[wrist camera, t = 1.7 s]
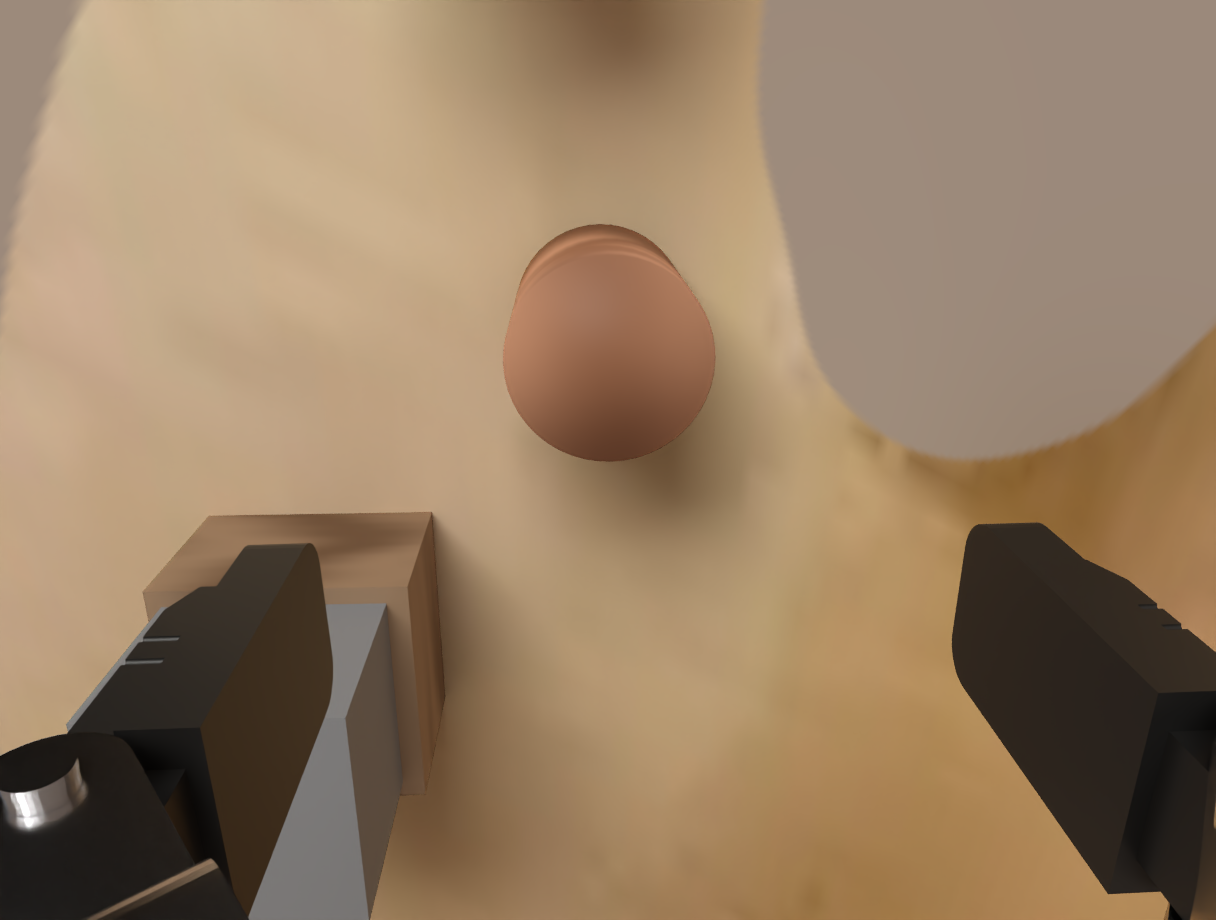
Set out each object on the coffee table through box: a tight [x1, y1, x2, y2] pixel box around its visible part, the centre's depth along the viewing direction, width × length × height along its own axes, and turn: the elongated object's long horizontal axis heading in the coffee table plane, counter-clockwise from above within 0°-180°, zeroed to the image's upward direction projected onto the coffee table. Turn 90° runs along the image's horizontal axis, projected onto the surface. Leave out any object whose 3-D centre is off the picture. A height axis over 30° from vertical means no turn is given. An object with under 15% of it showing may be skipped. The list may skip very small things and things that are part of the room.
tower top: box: [66, 603, 403, 920], centre depth 23 cm, size 6×6×5 cm
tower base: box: [143, 512, 445, 795], centre depth 28 cm, size 7×7×5 cm
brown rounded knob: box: [503, 224, 715, 461], centre depth 24 cm, size 5×5×6 cm
